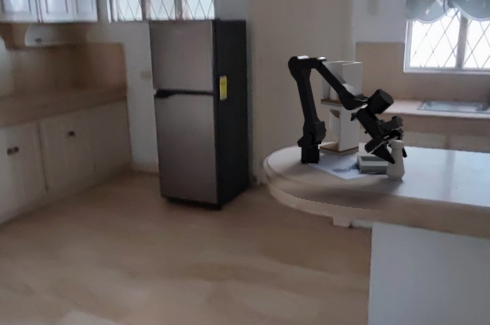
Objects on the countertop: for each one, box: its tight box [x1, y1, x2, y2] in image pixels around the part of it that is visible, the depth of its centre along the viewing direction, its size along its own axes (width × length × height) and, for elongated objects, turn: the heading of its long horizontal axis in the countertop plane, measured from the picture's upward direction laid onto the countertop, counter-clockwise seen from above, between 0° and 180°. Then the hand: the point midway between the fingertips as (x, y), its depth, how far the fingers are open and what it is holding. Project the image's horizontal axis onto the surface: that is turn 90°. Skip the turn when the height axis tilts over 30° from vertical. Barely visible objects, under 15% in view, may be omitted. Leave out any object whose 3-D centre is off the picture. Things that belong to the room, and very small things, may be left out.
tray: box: [356, 155, 389, 174], centre depth 181 cm, size 13×13×2 cm
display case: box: [319, 60, 364, 157], centre depth 199 cm, size 11×11×35 cm
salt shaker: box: [386, 140, 406, 181], centre depth 167 cm, size 6×6×13 cm
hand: (400, 160), depth 166 cm, fingers open, 9 cm apart
